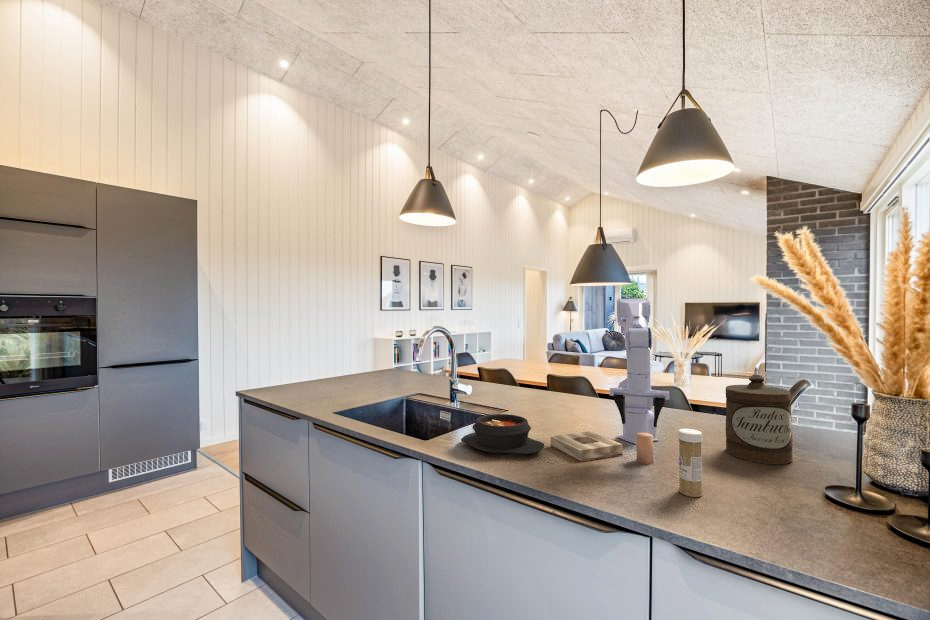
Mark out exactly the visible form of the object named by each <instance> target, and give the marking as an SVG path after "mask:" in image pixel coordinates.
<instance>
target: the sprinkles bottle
mask: <svg viewBox="0 0 930 620" xmlns="http://www.w3.org/2000/svg"><path fill="white" fill-rule="evenodd" d="M677 438H678V441H679V442H678V443H679V444H678V447H679V452H678V453H679V455H678V476H679V487H678V491H679V492H680V494H682V495H684V496H687V497H691V498H693V497H694V498H699V497H701V496H703V490H702V489H703V488H702V486H703V485H702V484H703V482H702V480H703V458H702V457H703V455H702V442H703V433H702V432H701V431H700V430H697V429H693V428H679V429H678V430H677Z"/></svg>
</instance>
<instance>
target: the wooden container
mask: <svg viewBox="0 0 930 620" xmlns="http://www.w3.org/2000/svg"><path fill="white" fill-rule="evenodd" d="M748 380H749V381H750V382H749V383H747V384H731V385H726V387H725V398H726V399H725V404H726V405H725V449H726V452H727V454H729V455H730V456H733V457H734V458H736V459H740V460H744V461H748V462H752V463H757V464H764V465H786V464H787V465H788V464H791V463H792V462H793V446H794V445H793V422H792V404H791V399H792V395H791V391H790V390H788V389H785V388H780V387H774V386H767V385H766V384H765V383H764V382H765V378H764V376H763V375H761V374H756V373H755V374H752V375H749V377H748Z"/></svg>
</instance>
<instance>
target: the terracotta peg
mask: <svg viewBox="0 0 930 620" xmlns="http://www.w3.org/2000/svg"><path fill="white" fill-rule="evenodd" d="M635 445H636V462H638V463H640V464H643V465H652V464H654V441H653V435H652V434H649V433H637V434H636V444H635Z"/></svg>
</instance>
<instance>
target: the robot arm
mask: <svg viewBox="0 0 930 620" xmlns="http://www.w3.org/2000/svg"><path fill="white" fill-rule="evenodd" d="M650 316H651V301H650V298H648V297H646V298H618V299H616V319H617V323H618V326H619V327H621V328H623V330H624V346H625V351H626V354H625V355H626V378H625V379H623V380H622V381H620V382H619V383H618V387H610V388H609V396H611V397H613V401H614V403H615V405H616V407H617V410H618V412H619V415H620V420H621V424H622V434H619V435H617V434H616V438H618V439H621V440H623V441H626V442H628V443H631V444H635V445H636V434H637V433H649V434H652V435H653V442H656V441H657V442H658V441H659V438H657V427H658V421H659V416H660V414H661V411H662V409H663V407H664V405H665V402H666V401H670V391H668V390H661V389H659V390H657V389H652V386H651V383H652V381H651V350H652V347H653V332H652V328H651V327H649V323H650ZM652 409H653V411H654V412H653V411H652Z"/></svg>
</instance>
